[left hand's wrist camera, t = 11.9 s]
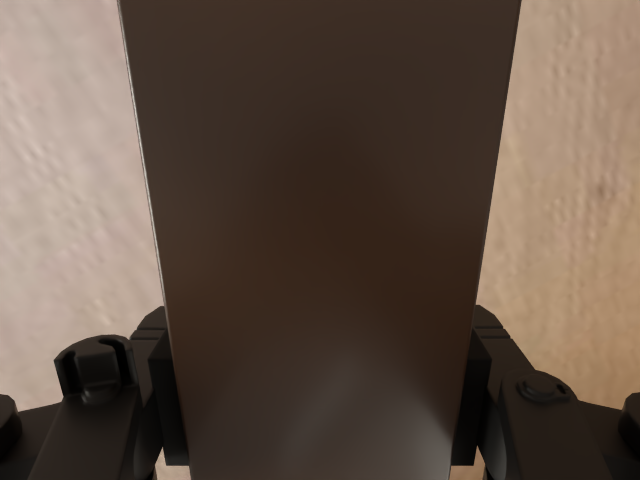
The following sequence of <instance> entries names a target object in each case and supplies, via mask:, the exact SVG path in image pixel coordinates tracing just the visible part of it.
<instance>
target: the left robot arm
mask: <svg viewBox="0 0 640 480" xmlns="http://www.w3.org/2000/svg"><path fill="white" fill-rule="evenodd" d="M54 364H55V367H56V371H57V375H58V378H59V382H60V385H61V389H62V393H63V396H64V397H63V400H62V402H59V403H56V404H52V405H48V406H43V407H39V408H34V409H30V410H25V411H20V412H18V410H17V407H16V404H15V401H14V400H13V399H12V398H11V397H9V396H8V395H2V394H0V480H157V474H156V469H155V463H156V461H157V459H158V456H159V454H160V452H161V449H162V447H163V450H164V456H165V462H166V466H189V462H188V455H187V449H186V442H185V436H184V429H183V423H182V417H181V410H180V404H179V397H178V391H177V384H176V378H175V372H174V365H173V359H172V352H171V346H170V339H169V333H168V326H167V320H166V314H165V307H164V306H160V307H158V308H157V309H155V310H154V311H153V312H151V313H150V314H148V315H147V316H145V317H144V319H143V320H142V322H141V323H140V324H139V326H138V327H137V330H135V331H134V332H133V334H132V335H131V337H130V340H128V339H127V338H126V337H123V336H119V335H99V336H95V337H91V338H86V339H84V340H82V341H79V342H77V343H74V344H72V345H71V346H69V347H68V348H66V349H65V350H63V351H62V352H60V354H59V355H58V356H57V357H56V358H55V359H54ZM477 446H478V448H479V450H480V453H481V455H482V457H483V460H484V462H485V469H484V474H483V479H482V480H640V392H638V393H632V394H631V395H630V396H629V397H627V398H626V400H625V403H624V406H623V409H622V410H619V409H614V408H610V407H605V406H600V405H596V404H591V403H587V402H583V401H580V400H578V399H577V397H576V395H575V394H574V392H573V391H572V390H571V388H570V387H569V386H568V385H566V384H565V383H564V382H562V381H561V380H560V379H558V378H556V377H554V376H552V375H550V374H548V373H545V372H542V371H538V370H535V369H534V367H533V366H532V365H531V363H530V362H529V361H528V359H527V358H526V357H525V355H524V354H523V353H522V351H521V350H520V349H519V347H518V346H517V345H516V343H515V342H514V341H513V339H510V335H509V334H508V332H507V331H506V330H505V329H503V326H502V324H501V323H500V322H499V320H498V319H497V318H496V316H495V315H494V314H492V313H491V312H489V311H488V310H486V309H485V308H483V307H482V306H480V305H475V312H474V318H473V325H472V331H471V338H470V345H469V351H468V358H467V365H466V371H465V378H464V384H463V391H462V398H461V404H460V411H459V418H458V424H457V431H456V437H455V444H454V451H453V457H452V464H451V466H473V465H474V460H475V454H476V449H477Z"/></svg>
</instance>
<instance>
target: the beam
mask: <svg viewBox="0 0 640 480" xmlns="http://www.w3.org/2000/svg"><path fill="white" fill-rule="evenodd" d="M521 1H522V0H117V5H118V11H119V18H120V24H121V30H122V37H123V43H124V50H125V56H126V63H127V69H128V75H129V82H130V88H131V95H132V101H133V108H134V114H135V121H136V127H137V133H138V140H139V146H140V153H141V159H142V166H143V172H144V178H145V185H146V191H147V198H148V204H149V211H150V217H151V224H152V230H153V236H154V243H155V249H156V256H157V262H158V269H159V275H160V281H161V288H162V294H163V301H164V307H165V314H166V320H167V326H168V333H169V339H170V346H171V352H172V359H173V365H174V372H175V378H176V384H177V391H178V397H179V404H180V410H181V417H182V423H183V429H184V436H185V442H186V449H187V455H188V462H189V468H190V475H191V480H449V477H450V470H451V464H452V457H453V451H454V444H455V437H456V431H457V424H458V418H459V411H460V404H461V398H462V391H463V384H464V378H465V371H466V365H467V358H468V351H469V345H470V338H471V331H472V325H473V318H474V312H475V305H476V298H477V292H478V285H479V279H480V272H481V265H482V259H483V252H484V245H485V239H486V232H487V226H488V219H489V212H490V206H491V199H492V192H493V186H494V179H495V173H496V166H497V159H498V153H499V146H500V140H501V133H502V126H503V120H504V113H505V106H506V100H507V93H508V87H509V80H510V73H511V67H512V60H513V53H514V47H515V40H516V34H517V27H518V20H519V14H520V7H521Z"/></svg>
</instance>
